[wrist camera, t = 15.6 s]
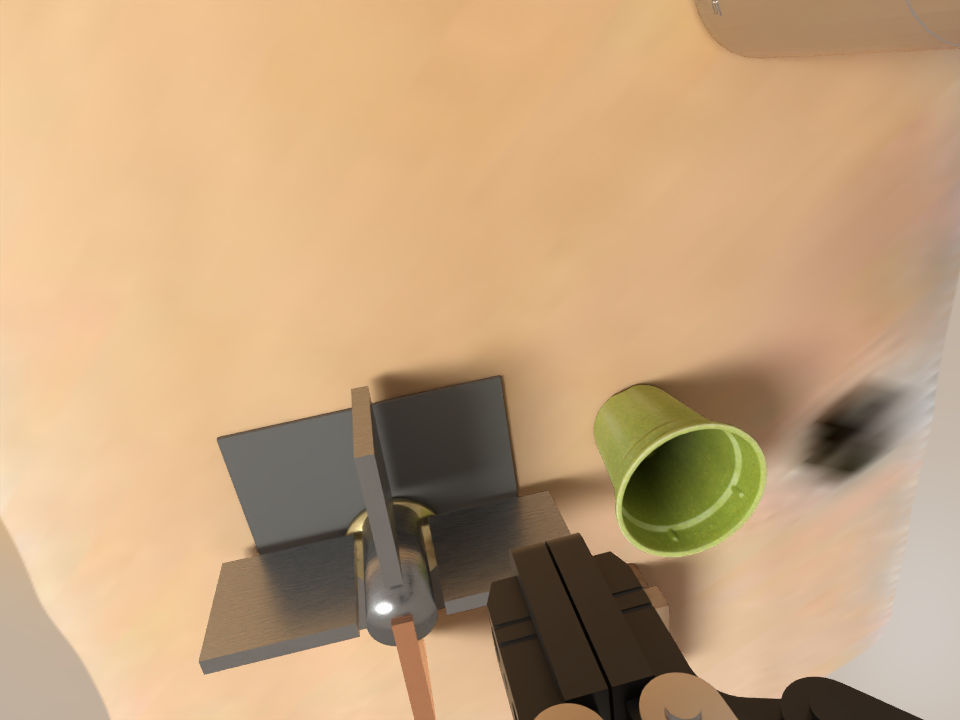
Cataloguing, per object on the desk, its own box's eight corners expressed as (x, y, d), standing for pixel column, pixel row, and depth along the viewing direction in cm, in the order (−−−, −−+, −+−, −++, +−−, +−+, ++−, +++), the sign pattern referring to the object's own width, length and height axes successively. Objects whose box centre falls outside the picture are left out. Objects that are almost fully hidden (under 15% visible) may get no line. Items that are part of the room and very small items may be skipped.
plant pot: (662, 488, 49) (724, 567, 41) (550, 467, 46) (593, 548, 38) (716, 378, 45) (794, 440, 38) (599, 348, 43) (657, 409, 35)
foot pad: (499, 375, 42) (502, 380, 41) (530, 588, 50) (533, 595, 49) (217, 437, 40) (215, 444, 39) (296, 649, 48) (295, 658, 47)
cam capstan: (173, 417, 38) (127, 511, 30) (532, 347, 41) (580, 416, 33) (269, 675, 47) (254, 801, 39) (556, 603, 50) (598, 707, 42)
